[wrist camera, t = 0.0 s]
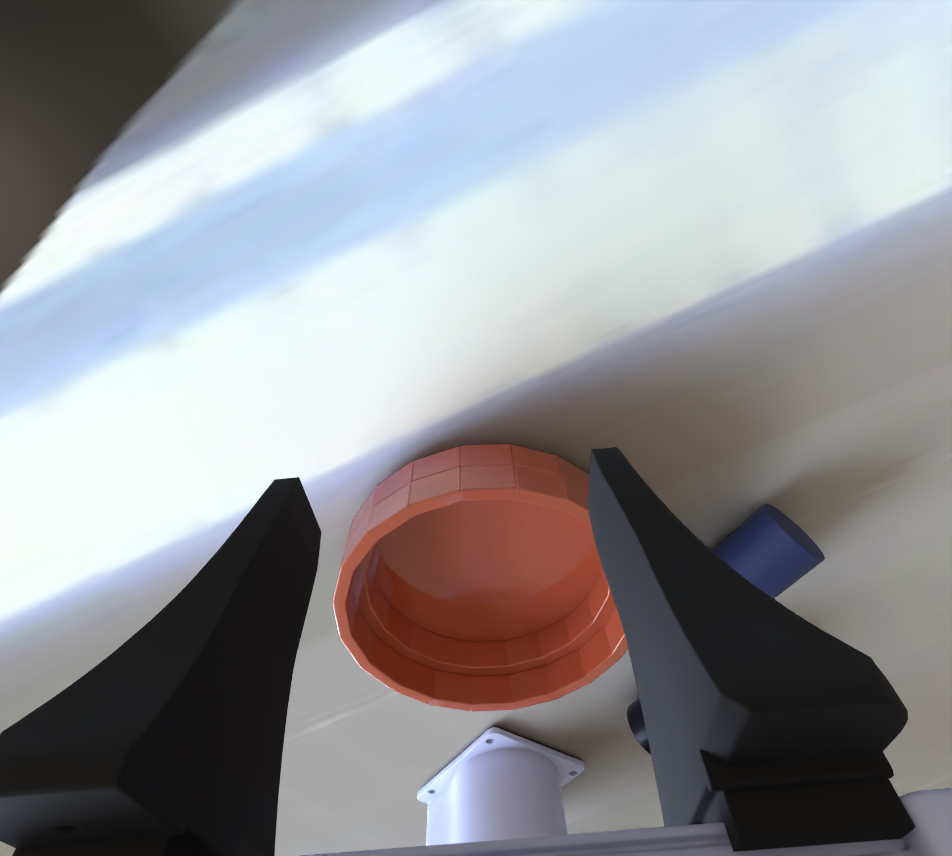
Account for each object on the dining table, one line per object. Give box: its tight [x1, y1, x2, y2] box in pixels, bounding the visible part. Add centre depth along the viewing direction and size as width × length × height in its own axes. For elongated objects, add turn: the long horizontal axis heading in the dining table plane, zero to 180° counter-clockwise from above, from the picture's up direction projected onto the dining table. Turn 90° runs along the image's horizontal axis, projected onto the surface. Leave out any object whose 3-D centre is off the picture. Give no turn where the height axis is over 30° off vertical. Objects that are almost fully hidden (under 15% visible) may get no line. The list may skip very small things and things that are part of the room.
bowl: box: [332, 444, 628, 711], centre depth 27 cm, size 14×14×4 cm
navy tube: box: [712, 504, 825, 599], centre depth 28 cm, size 7×3×3 cm, turn 145°
